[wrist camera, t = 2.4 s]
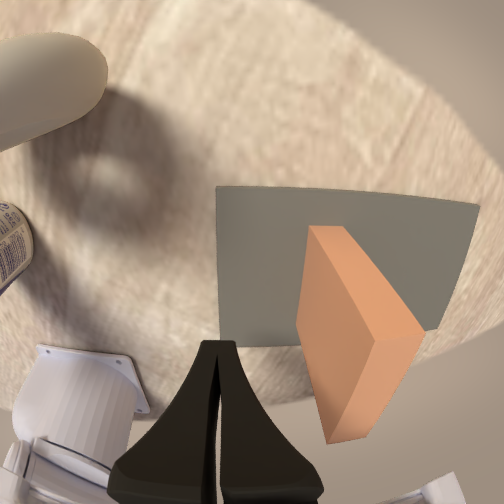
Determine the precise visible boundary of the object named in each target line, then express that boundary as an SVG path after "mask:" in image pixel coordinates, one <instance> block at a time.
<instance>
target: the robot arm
mask: <svg viewBox="0 0 504 504" xmlns="http://www.w3.org/2000/svg"><path fill="white" fill-rule="evenodd" d="M36 350H37V352H38V353H39V356H38V357H37V359H36V361H35V363H34V365H33V366H32V368H31V370H30V372H29V374H28V376H27V378H26V380H25V382H24V384H23V385H22V387H21V389H20V391H19V393H18V396H17V398H16V400H15V403H14V407H13V415H12V420H13V427H14V430H15V433H16V435H17V437H18V439H19V440H20V441H15V442H13V444H12V445H11V447H10V449H9V452H8V454H7V457H6V459H5V462H4V464H3V467H2V466H0V504H217V491H216V460H215V459H216V454H215V453H216V452H215V451H216V450H215V443H216V429H217V420H218V410H219V401H220V395H221V404H222V410H221V457H220V458H221V459H220V460H221V461H220V487H221V492H222V496H223V500H224V504H318V502H317V499H318V498H319V497H320V496H321V494H322V493H323V492H324V487H323V484H322V481H321V479H320V477H319V475H318V473H317V471H316V469H315V468H314V466H313V465H312V464H311V463H310V462H309V461H308V460H307V459H306V458H305V457H303V456H302V455H301V454H300V453H299V452H298V451H297V450H296V449H295V448H294V447H293V446H292V445H291V444H290V442H289V441H288V440H287V439H286V438H285V437H284V435H283V434H282V433H281V432H280V431H279V429H278V428H277V427H276V426H275V425H274V423H273V422H272V420H271V419H270V418H269V416H268V415H267V414H266V412H265V410H264V409H263V407H262V406H261V404H260V402H259V401H258V399H257V397H256V395H255V393H254V392H253V390H252V388H251V386H250V384H249V382H248V379H247V377H246V375H245V373H244V370H243V368H242V365H241V362H240V359H239V356H238V352H237V348H236V342H235V341H233V340H203V341H202V342H201V344H200V347H199V350H198V353H197V356H196V358H195V360H194V363H193V365H192V367H191V369H190V371H189V373H188V375H187V377H186V379H185V381H184V382H183V384H182V386H181V387H180V389H179V391H178V392H177V394H176V396H175V397H174V399H173V400H172V402H171V403H170V405H169V406H168V407H167V409H166V410H165V412H164V413H163V414H162V415H161V417H160V418H159V419H158V420H157V422H156V423H155V424H154V425H153V426H152V427H151V429H150V430H149V431H148V432H147V433H146V434H145V435H144V436H143V437H142V438H141V439H140V440H139V441H138V442H137V443H136V444H135V445H134V446H133V447H132V448H130V449H129V450H128V451H127V452H126V449H127V444H128V439H129V434H130V430H131V425H132V420H133V416H134V412H136V413H144V414H148V413H150V407H149V405H148V402H147V400H146V397H145V395H144V392H143V390H142V387H141V384H140V382H139V379H138V377H137V374H136V371H135V368H134V365H133V363H132V360H131V358H129V357H128V356H125V355H115V354H106V353H97V352H89V351H81V350H74V349H68V348H61V347H55V346H49V345H44V344H37V346H36ZM378 504H466V502H465V499H464V496H463V493H462V491H461V488H460V486H459V483H458V481H457V478H456V476H455V473H454V471H450V472H448V473H447V474H444V475H442V476H440V477H438V478H435V479H433V480H431V481H429V482H428V483H426V484H425V485H423V486H422V487H421V488H419V489H417V490H414V491H412V492H409V493H407V494H404V495H401V496H399V497H396V498H393V499H390V500H387V501H384V502H381V503H378Z"/></svg>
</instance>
